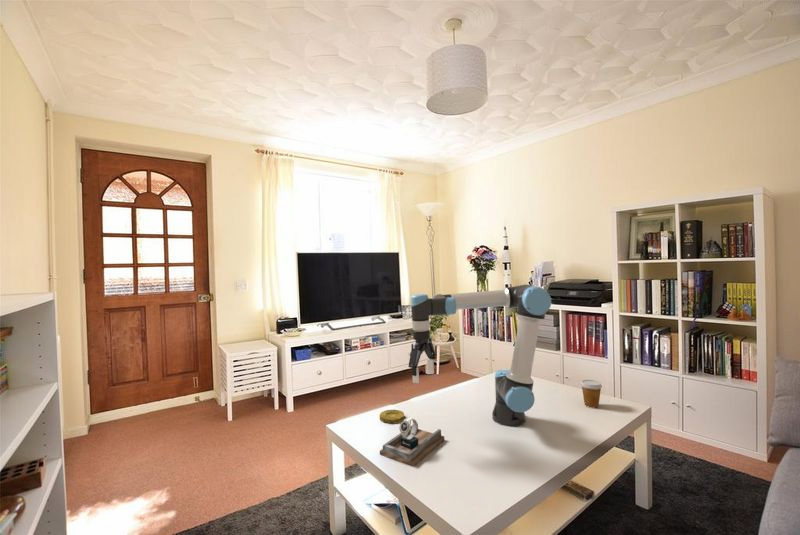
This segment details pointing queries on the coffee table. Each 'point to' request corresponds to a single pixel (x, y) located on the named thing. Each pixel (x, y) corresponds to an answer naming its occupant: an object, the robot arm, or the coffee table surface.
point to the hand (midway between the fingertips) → (423, 378)
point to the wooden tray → (413, 456)
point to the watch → (408, 440)
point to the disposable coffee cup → (591, 392)
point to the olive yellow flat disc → (391, 416)
